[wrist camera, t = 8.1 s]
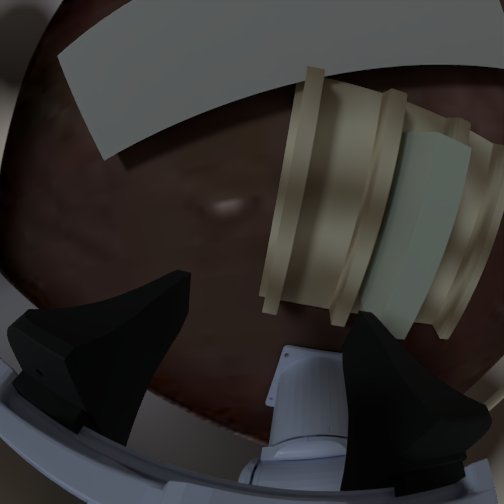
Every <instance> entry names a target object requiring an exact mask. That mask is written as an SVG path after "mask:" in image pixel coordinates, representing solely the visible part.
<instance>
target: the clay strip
mask: <svg viewBox="0 0 504 504" xmlns="http://www.w3.org/2000/svg"><path fill="white" fill-rule="evenodd" d="M471 149H472V148H471V147H469V146H467V145H465V144H463V143H461V142H459V141H456V140H454V139H452V138H450V137H448V136H446V135H443V134H441V133H439V132H402V135H401V141H400V147H399V152H398V157H397V162H396V167H395V171H394V176H393V180H392V184H391V189H390V193H389V197H388V201H387V204H386V208H385V212H384V216H383V219H382V223H381V226H380V230H379V233H378V236H377V240H376V243H375V246H374V249H373V253H372V256H371V259H370V262H369V265H368V268H367V271H366V273H365V276H364V279H363V282H362V285H361V287H360V290H359V296H360V299H361V302H362V305H363V308H364V311H366V312H372V313H373V314H374V315H375V316H376V317H377V318H378V319H379V320H380V321H381V322H382V323H383V325H384V326H385V327H386V328H387V329H388V330H389V331H390V333H391V334H392V335H393V336H394V337H395V338H396V339H405V337H406V335H407V334H408V332H409V330H410V328H411V326H412V324H413V322H414V320H415V318H416V316H417V314H418V312H419V310H420V308H421V306H422V304H423V302H424V300H425V297H426V295H427V293H428V291H429V289H430V286H431V284H432V282H433V279H434V277H435V275H436V272H437V270H438V267H439V265H440V262H441V259H442V257H443V254H444V251H445V249H446V246H447V243H448V240H449V237H450V234H451V231H452V228H453V225H454V221H455V218H456V215H457V211H458V208H459V204H460V200H461V197H462V193H463V189H464V184H465V180H466V176H467V171H468V166H469V161H470V155H471Z"/></svg>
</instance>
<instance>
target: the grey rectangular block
mask: <svg viewBox="0 0 504 504" xmlns="http://www.w3.org/2000/svg"><path fill="white" fill-rule="evenodd" d="M58 59H59V62H60V64H61V67H62V69H63V72H64V74H65V77H66V79H67V82H68V84H69V87H70V89H71V91H72V94H73V96H74V98H75V101H76V103H77V105H78V107H79V110H80V112H81V114H82V116H83V118H84V120H85V123H86V125H87V127H88V129H89V131H90V133H91V135H92V137H93V139H94V141H95V143H96V145H97V147H98V149H99V151H100V153H101V155H102V157H103V159H104V160H106V159H108V158H109V157H111V156H113V155H115V154H116V153H118V152H120V151H122V150H124V149H126V148H127V147H129V146H131V145H133V144H135V143H137V142H139V141H141V140H143V139H145V138H147V137H149V136H151V135H153V134H155V133H157V132H159V131H161V130H164V129H166V128H168V127H170V126H172V125H175V124H177V123H179V122H181V121H184V120H186V119H188V118H191V117H193V116H196V115H198V114H201V113H203V112H206V111H208V110H211V109H214V108H216V107H219V106H222V105H224V104H227V103H230V102H233V101H236V100H239V99H242V98H245V97H248V96H251V95H254V94H258V93H261V92H264V91H268V90H271V89H275V88H278V87H282V86H286V85H290V84H294V83H298V82H302V81H305V78H306V72H307V66H311V67H316V68H321V69H325V74H324V77H325V76H330V75H335V74H341V73H347V72H353V71H360V70H367V69H375V68H384V67H395V66H409V65H471V66H484V67H494V68H502V69H504V13H503V10H502V7H501V4H500V1H499V0H132V1H131V2H129V3H127V4H126V5H124V6H122V7H121V8H119V9H118V10H116V11H115V12H113V13H112V14H110V15H109V16H107V17H106V18H104V19H103V20H101V21H100V22H99V23H97V24H96V25H95V26H93V27H92V28H91V29H89V30H88V31H87V32H85V33H84V34H83V35H81V36H80V37H79V38H78V39H77V40H75V41H74V42H73V43H72V44H71V45H69V46H68V47H67V48H66V49H65V50H64V51H62V52H61V53H60V54H59V55H58Z"/></svg>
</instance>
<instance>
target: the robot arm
mask: <svg viewBox="0 0 504 504" xmlns="http://www.w3.org/2000/svg"><path fill="white" fill-rule="evenodd" d="M190 279H191V273H189V272H185V271H181V270H176V271H173V272H171V273H169V274H167V275H165V276H163V277H161V278H159V279H156V280H154V281H152V282H150V283H148V284H146V285H144V286H142V287H139V288H137V289H134V290H132V291H130V292H127V293H125V294H122V295H119V296H116V297H113V298H110V299H107V300H104V301H100V302H96V303H91V304H86V305H82V306H76V307H69V308H60V309H29V310H27V311H26V312H25V313H24V314H23V315H22V316H20V318H18V319H17V320H16V321H15V322H14V323H13V324H12V325H11V326H9V327H8V330H7V336H8V341H9V343H10V346H11V348H12V350H13V352H14V354H15V356H16V358H17V360H18V362H19V364H20V366H21V368H22V370H23V371H22V372H21V373H20V374H19V375H18V374H17V373H16V372H15V370H14V369H13V368H12V367H10V366H9V365H8V364H7V363H6V362H5V361H3V360H2V359H1V358H0V437H1V438H2V439H3V440H4V441H5V442H6V443H7V444H8V445H9V446H10V447H11V448H12V449H14V450H15V451H16V452H17V453H18V454H19V455H20V456H22V457H23V458H24V459H25V460H26V461H28V462H29V463H30V464H31V465H32V466H34V467H35V468H36V469H38V470H39V471H40V472H41V473H43V474H44V475H46V476H47V477H48V478H49V479H51V480H52V481H54V482H55V483H57V484H58V485H60V486H61V487H63V488H64V489H66V490H67V491H69V492H70V493H72V494H74V495H75V496H77V497H78V498H80V499H82V500H83V501H85V502H87V504H497V503H498V501H497V496H496V491H495V486H494V482H493V478H492V474H491V470H490V467H489V463H488V460H487V459H483V460H480V461H477V462H474V463H471V464H469V465H467V466H465V467H464V466H463V462H462V461H464V460H466V458H467V456H466V452H465V451H466V450H467V449H469V448H470V447H471V446H472V445H473V444H475V443H476V442H477V441H478V440H479V439H480V438H481V437H482V436H483V435H484V434H485V433H486V432H487V431H488V429H489V428H490V426H491V424H492V418H491V416H490V413H489V411H488V409H487V407H486V405H484V404H482V403H479V402H477V401H475V400H473V399H471V398H468V397H467V396H465V395H463V394H461V393H460V392H458V391H456V390H454V389H453V388H451V387H450V386H448V385H447V384H445V383H444V382H443V381H441V380H440V379H438V378H437V377H436V376H434V375H433V374H432V373H431V372H429V371H428V370H427V369H426V368H425V367H424V366H422V365H421V364H420V363H419V362H418V361H417V360H416V359H415V358H414V357H413V356H412V355H411V354H410V353H409V352H408V351H407V350H406V349H405V348H404V347H403V346H402V345H401V344H400V343H399V341H398V340H397V339H396V338H395V337H394V336H393V335H392V334H391V333H390V331H389V330H388V329H387V328H386V327H385V326H384V325H383V323H382V322H381V321H380V320H379V319H378V318H377V317H376V316H375V315H374V314H373V313H372V312H366V311H361V310H359V311H358V314H357V316H356V318H355V320H354V322H353V325H352V327H351V329H350V331H349V333H348V335H347V337H346V339H345V341H344V343H343V345H342V353H337V352H330V351H323V350H316V349H310V348H304V347H298V346H292V345H286V346H284V347H283V350H282V353H281V356H280V360H279V363H278V366H277V369H276V372H275V375H274V378H273V381H272V384H271V387H270V390H269V393H268V396H267V399H266V405H268V406H273V407H274V413H273V420H272V427H271V434H270V441H269V447H263V448H262V454H261V458H254V459H252V460H251V461H250V462H249V463H248V464H247V465H246V466H245V467H244V469H243V470H242V472H241V475H240V478H239V481H238V482H233V481H229V480H225V479H220V478H216V477H212V476H208V475H204V474H200V473H197V472H193V471H190V470H186V469H183V468H180V467H177V466H174V465H171V464H167V463H165V462H162V461H159V460H157V459H154V458H151V457H149V456H146V455H144V454H141V453H139V452H136V451H134V450H132V449H129V448H127V447H126V445H127V441H128V438H129V435H130V432H131V429H132V426H133V423H134V421H135V418H136V415H137V412H138V410H139V407H140V405H141V402H142V400H143V397H144V395H145V392H146V390H147V388H148V386H149V384H150V381H151V379H152V377H153V375H154V373H155V371H156V369H157V367H158V366H159V364H160V362H161V361H162V359H163V358H164V356H165V354H166V353H167V351H168V350H169V348H170V346H171V345H172V343H173V342H174V340H175V338H176V337H177V335H178V333H179V332H180V330H181V328H182V326H183V323H184V321H185V319H186V316H187V314H188V310H189V294H190ZM286 353H288V355H286Z"/></svg>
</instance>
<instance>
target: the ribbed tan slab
mask: <svg viewBox="0 0 504 504" xmlns="http://www.w3.org/2000/svg"><path fill="white" fill-rule="evenodd" d="M324 74H325V69H321V68H316V67H311V66H307V72H306V78H305V81H302V82H298V83H296V90H295V96H294V102H293V108H292V114H291V120H290V126H289V132H288V138H287V144H286V150H285V156H284V161H283V167H282V173H281V179H280V184H279V190H278V196H277V201H276V207H275V212H274V218H273V223H272V229H271V234H270V240H269V245H268V250H267V256H266V261H265V266H264V272H263V277H262V282H261V287H260V292H259V296H263V297H265V301H264V306H263V311H262V312H264V313H269V314H274V315H276V314H277V310H278V306H279V302H280V300H283V301H289V302H294V303H299V304H304V305H310V306H315V307H321V308H327V309H329V312H330V319H331V325H336V326H342V327H344V326H345V324H346V321H347V319H348V317H349V314H350V313H356V314H358V311H359V310H361V311H364V308H363V305H362V302H361V299H360V296H359V290H360V287H361V285H362V282H363V279H364V276H365V273H366V271H367V268H368V265H369V262H370V259H371V256H372V253H373V249H374V246H375V243H376V240H377V236H378V233H379V230H380V226H381V223H382V219H383V216H384V212H385V208H386V204H387V201H388V197H389V193H390V189H391V184H392V180H393V176H394V171H395V167H396V162H397V157H398V152H399V147H400V141H401V135H402V132H439V133H441V134H443V135H446V136H448V137H450V138H452V139H454V140H456V141H459V142H461V143H463V144H465V145H467V146H469V147H471V148H472V149H471V155H470V161H469V166H468V171H467V176H466V180H465V184H464V189H463V193H462V197H461V200H460V204H459V208H458V211H457V215H456V218H455V221H454V225H453V228H452V231H451V234H450V237H449V240H448V243H447V246H446V249H445V251H444V254H443V257H442V259H441V262H440V265H439V267H438V270H437V272H436V275H435V277H434V279H433V282H432V284H431V286H430V289H429V291H428V293H427V295H426V297H425V300H424V302H423V304H422V306H421V308H420V310H419V312H418V314H417V316H416V318H415V320H414V322H417V323H425V324H432V325H433V327H434V329H435V330H436V332H437V334H438V336H439V338H440V339H449V337H450V335H451V334H452V332H453V330H454V328H455V327H456V325H457V323H458V321H459V320H460V318H461V316H462V314H463V312H464V310H465V308H466V306H467V304H468V302H469V300H470V298H471V296H472V294H473V292H474V290H475V288H476V285H477V283H478V281H479V279H480V276H481V274H482V272H483V269H484V267H485V264H486V262H487V259H488V257H489V254H490V251H491V249H492V246H493V243H494V240H495V237H496V234H497V231H498V228H499V225H500V222H501V218H502V215H503V211H504V145H499V144H493V143H491V142H489V141H488V140H486V139H484V138H482V137H481V136H479V135H477V134H475V133H474V132H472V131H470V128H471V123H469V122H468V121H466V120H464V119H462V118H444V117H442V116H439V115H437V114H435V113H433V112H430V111H428V110H426V109H423V108H421V107H419V106H416V105H414V104H411V103H408V102H406V101H407V94H406V93H404V92H401V91H398V90H395V89H393V88H392V89H390V90H388V91H386V92H384V93H380V92H377V91H374V90H370V89H367V88H364V87H360V86H357V85H353V84H349V83H345V82H341V81H337V80H333V79H329V78H324Z"/></svg>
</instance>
